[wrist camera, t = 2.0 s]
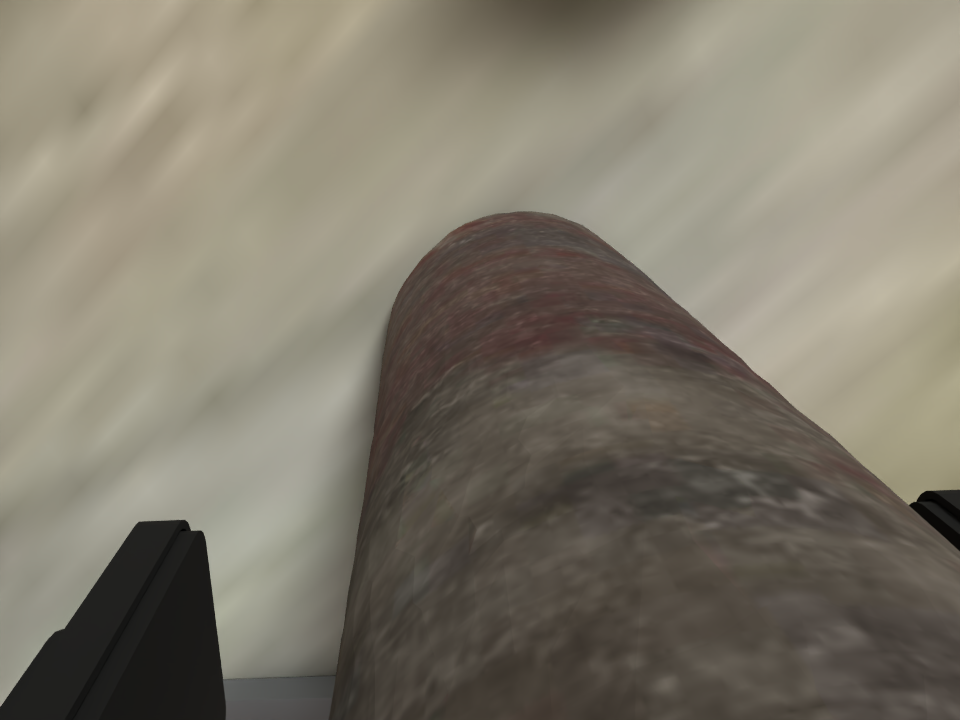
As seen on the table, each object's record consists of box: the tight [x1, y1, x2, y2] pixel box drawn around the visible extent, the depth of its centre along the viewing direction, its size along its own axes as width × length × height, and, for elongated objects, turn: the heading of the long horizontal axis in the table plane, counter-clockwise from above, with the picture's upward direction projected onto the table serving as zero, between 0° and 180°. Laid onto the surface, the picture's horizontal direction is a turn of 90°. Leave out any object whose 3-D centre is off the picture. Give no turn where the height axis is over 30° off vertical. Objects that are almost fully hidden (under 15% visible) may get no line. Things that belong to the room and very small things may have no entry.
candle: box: [329, 212, 960, 720], centre depth 13 cm, size 8×7×20 cm
